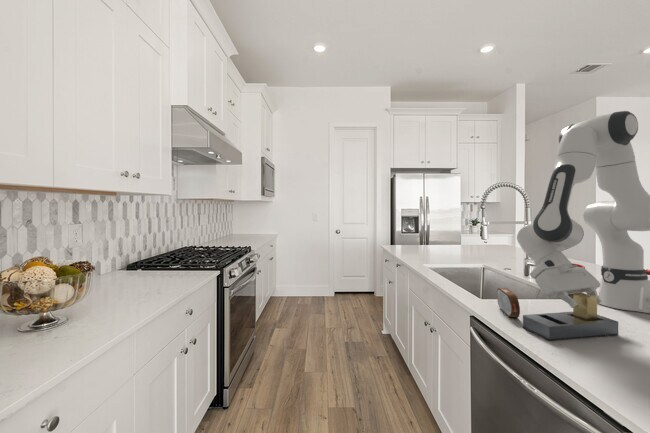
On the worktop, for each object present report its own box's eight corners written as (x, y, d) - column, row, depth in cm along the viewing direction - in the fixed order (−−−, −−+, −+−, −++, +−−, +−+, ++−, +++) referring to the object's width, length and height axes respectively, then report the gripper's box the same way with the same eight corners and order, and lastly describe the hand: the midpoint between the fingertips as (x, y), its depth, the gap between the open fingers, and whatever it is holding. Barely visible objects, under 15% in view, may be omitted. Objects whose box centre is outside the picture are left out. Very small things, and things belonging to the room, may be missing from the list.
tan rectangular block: (582, 325, 98) (582, 293, 98) (597, 329, 94) (597, 296, 94) (573, 326, 97) (573, 294, 97) (587, 331, 93) (587, 298, 93)
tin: (521, 321, 104) (520, 295, 104) (510, 320, 105) (510, 295, 105) (504, 307, 119) (504, 284, 119) (495, 306, 120) (495, 284, 120)
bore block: (585, 323, 101) (585, 310, 101) (618, 335, 91) (618, 321, 91) (522, 327, 99) (522, 315, 99) (549, 340, 89) (549, 326, 89)
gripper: (571, 270, 109) (603, 306, 100) (525, 274, 103) (555, 314, 94) (584, 259, 105) (619, 295, 96) (538, 263, 99) (570, 303, 90)
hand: (587, 304), depth 95 cm, fingers open, 8 cm apart
